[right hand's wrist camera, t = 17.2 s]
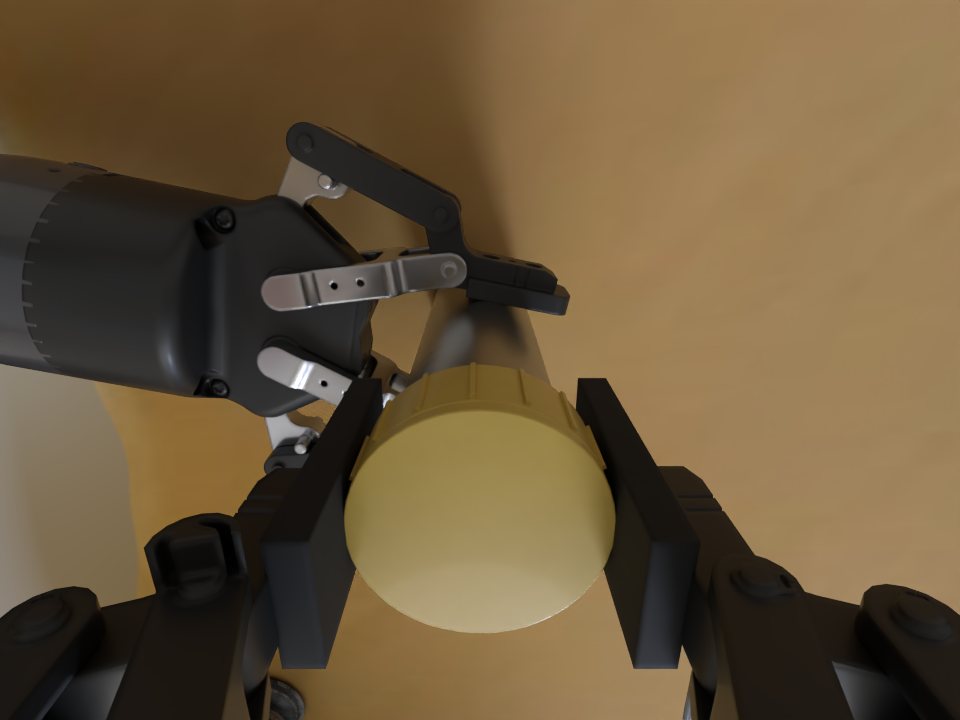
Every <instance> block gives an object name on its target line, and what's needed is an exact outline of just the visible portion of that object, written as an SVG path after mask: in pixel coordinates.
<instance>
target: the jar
mask: <svg viewBox="0 0 960 720" xmlns="http://www.w3.org/2000/svg"><path fill="white" fill-rule="evenodd" d="M472 362H475V363H476V365H494V366H501V367H506V368H511V369H515V370H518V371H519V369H523V370H524V371H525V373H527V374H529V375H532V376H534V377H536V378H538V379H540V380H542V381H544V382H545V383H547V384H548V385H550V386H551V384H550V380H549V377H548V374H547V371H546V368H545V365H544V362H543V359H542V356H541V352H540V349H539V346H538V343H537V340H536V337H535V334H534V331H533V328H532V324H531V321H530V318H529V315H528V312H527V309H523V308H518V307H513V306H507V305H502V304H497V303H494V302H489V301H482V300H477V299H472V298H467V297H466V289H461V288H456V287H453V288H444V289H438V290H437V293H436V296H435V299H434V302H433V305H432V308H431V311H430V315H429V318H428V321H427V324H426V327H425V330H424V333H423V336H422V339H421V342H420V345H419V348H418V351H417V355H416V358H415V361H414V364H413V367H412V370H411V373H410V376H409V379H408V382H407V385H406V388H407V387H408V386H410V385H411V384H413V383H415V382H416V381H418V380H420V379H422V378H423V375H424V374H426V373H428V375H431V374H433V373H435V372H438V371H442V370H445V369H448V368H453V367H459V366H465V365H471V363H472ZM406 388H405V389H406Z"/></svg>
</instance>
